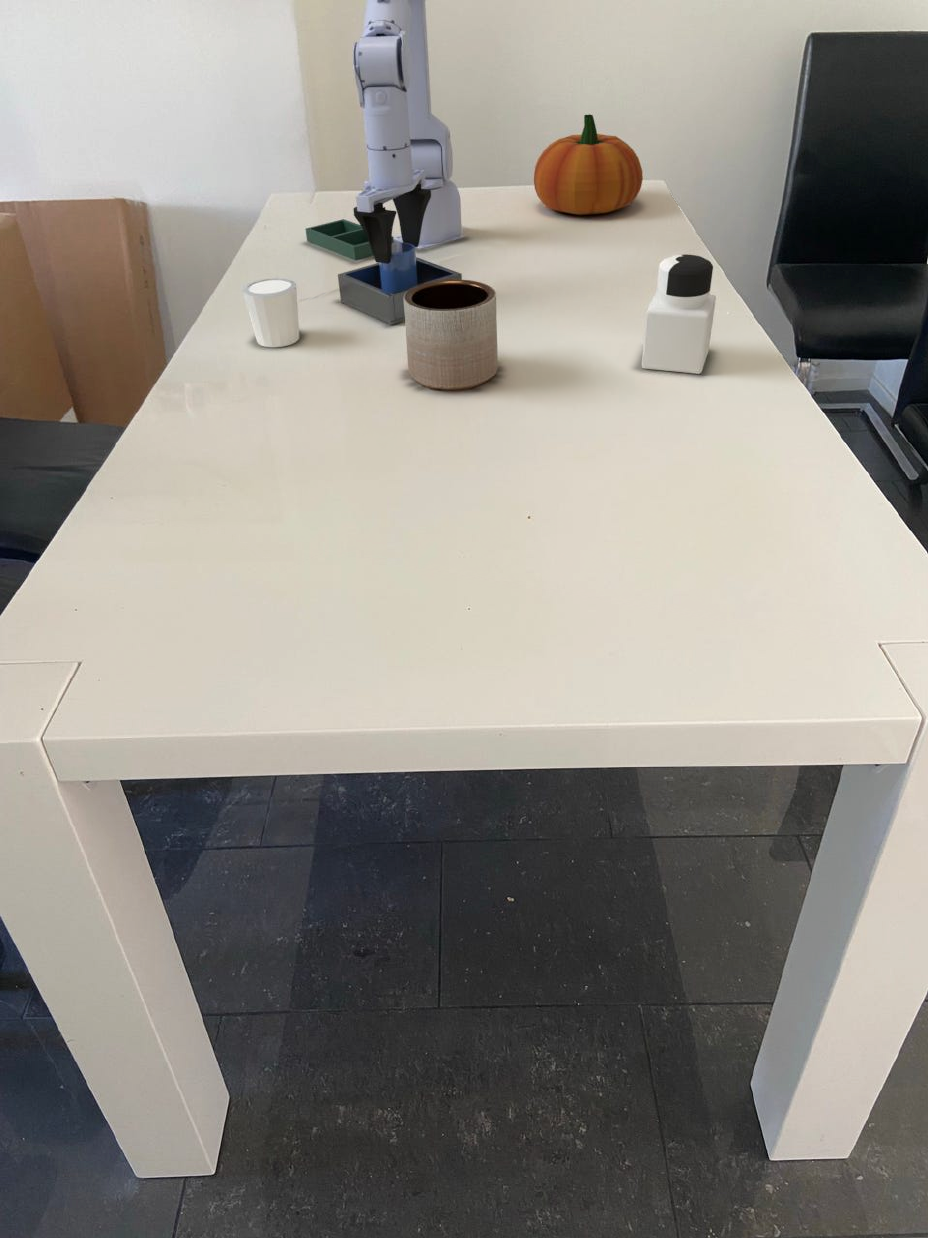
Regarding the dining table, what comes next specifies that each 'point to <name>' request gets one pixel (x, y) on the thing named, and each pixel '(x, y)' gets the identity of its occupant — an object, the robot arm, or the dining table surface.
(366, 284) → the dark gray square tray
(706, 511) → the dining table surface
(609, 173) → the pumpkin
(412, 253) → the cup
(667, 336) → the medicine bottle
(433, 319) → the planter
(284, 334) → the white jar candle
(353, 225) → the divided tray
